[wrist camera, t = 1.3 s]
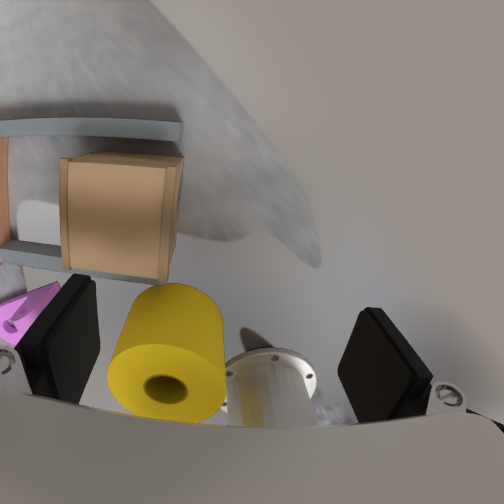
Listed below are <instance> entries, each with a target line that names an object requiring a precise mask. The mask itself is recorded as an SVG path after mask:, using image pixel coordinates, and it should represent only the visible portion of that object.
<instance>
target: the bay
mask: <svg viewBox="0 0 504 504" xmlns="http://www.w3.org/2000/svg"><path fill="white" fill-rule="evenodd" d="M182 128H183V123H181V122H170V121H158V120H143V119H125V118H93V117H61V118H30V119H13V120H0V262H4V263H10V264H15V265H21V266H28V267H33V268H39V269H46V270H52V271H59V272H65V273H71V274H74V273H77V274H83V275H89V276H92V277H100V278H106V279H113V280H121V281H128V282H136V283H145V284H152V285H160V286H165V284H164V283H159V279H154V278H145V277H137V276H129V275H122V274H114V273H107V272H99V271H92V270H85V269H78V268H72V269H71V270H70V271H67V270H63V264H62V252H61V246H57V245H50V244H42V243H34V242H27V241H20V240H12V239H11V232H10V221H9V206H8V174H7V168H8V137H9V136H101V137H122V138H138V139H152V140H164V141H175V142H178V141H180V140H181V135H182Z"/></svg>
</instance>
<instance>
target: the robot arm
mask: <svg viewBox="0 0 504 504" xmlns="http://www.w3.org/2000/svg"><path fill="white" fill-rule="evenodd" d="M96 300H97V299H96V283H95V281H93V280H91V277H90V276H89V275H83V274H77V273H74V274H73V275H72V276H71V277H70V278H69V279H68V281H67V282H66V283H65V284H64V285H63V286H62V288H61V289H60V290H59V291H58V293H57V294H56V295H55V296H54V297H53V299H52V300H51V301H50V302H49V304H48V305H47V306H46V307H45V308H44V309H43V310H42V312H41V313H40V314H39V316H38V317H37V318H36V319H35V321H34V322H33V323H32V325H31V326H30V327H29V329H28V330H27V331H26V333H25V334H24V335H23V337H22V338H21V339H20V341H19V342H18V343H17V345H16V346H15V348H14V349H13V348H11V347H8V346H2V345H0V504H504V425H503V424H501V423H498V422H496V421H493V420H491V419H488V418H486V417H484V416H482V415H480V414H477V413H475V412H473V411H471V410H468V409H466V404H467V401H466V397H465V395H464V393H463V392H462V391H461V390H460V389H459V388H458V387H456V386H455V385H453V384H451V383H447V382H437V383H435V384H434V385H433V386H432V385H431V384H430V381H431V380H432V378H433V375H432V373H431V372H430V371H429V369H428V368H427V367H426V365H425V364H424V363H423V361H422V360H421V359H420V357H419V356H418V355H417V353H416V352H415V351H414V349H413V348H412V347H411V345H410V344H409V343H408V342H407V340H406V339H405V338H404V336H403V335H402V334H401V333H400V331H399V330H398V329H397V327H396V326H395V325H394V324H393V322H392V321H391V320H390V319H389V317H388V316H387V315H386V314H385V312H384V311H383V310H382V309H381V308H371V307H367V308H365V309H364V310H363V311H361V312H360V313H359V315H358V318H357V321H356V323H355V326H354V329H353V331H352V334H351V336H350V339H349V341H348V344H347V346H346V349H345V352H344V354H343V356H342V359H341V361H340V363H339V366H338V376H339V379H340V381H341V383H342V385H343V388H344V389H345V392H346V394H347V397H348V399H349V401H350V403H351V406H352V408H353V410H354V413H355V415H356V417H357V420H358V422H359V423H355V424H343V425H327V426H319V425H318V422H317V419H316V416H315V413H314V410H313V406H312V403H311V400H310V398H311V397H312V395H313V394H314V392H315V389H316V385H317V377H316V374H315V371H314V368H313V366H312V364H311V363H310V362H309V361H308V359H306V358H305V357H304V356H302V355H301V354H299V353H297V352H294V351H292V350H287V349H283V348H261V349H256V350H251V351H248V352H245V353H242V354H240V355H238V356H236V357H234V358H232V359H231V360H229V361H228V362H227V363H225V374H226V398H225V401H224V403H223V405H222V406H221V409H222V410H223V411H224V412H226V413H227V414H228V426H227V425H212V424H200V423H189V422H179V421H171V420H163V419H155V418H148V417H142V416H136V415H130V414H124V413H118V412H112V411H108V410H102V409H98V408H93V407H89V406H84V405H79V401H80V399H81V396H82V394H83V391H84V389H85V386H86V384H87V381H88V379H89V376H90V374H91V372H92V369H93V367H94V364H95V362H96V360H97V357H98V355H99V352H100V336H99V326H98V314H97V301H96Z"/></svg>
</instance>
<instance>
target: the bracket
mask: <svg viewBox="0 0 504 504" xmlns="http://www.w3.org/2000/svg"><path fill="white" fill-rule="evenodd" d="M60 289H61V287H60V285H59V283H58V281H56V282H53V283H50V284H48V285H45V286H42V287H40V288H37V289H35V290H32V291H29V292H28V293H25V294H23V295H20V296H18V297H15V298H12V299H10V300H7V301H5V302H2V303H0V337H1V338H2V339H3V340H5V341H6V342H8V343H9V344H12V345H15V346H16V345H17V343H18V342H19V341H20V339H21V338H22V337H23V335H24V334H25V333H26V331H27V330H28V329H29V327H30V326H31V325H32V323H33V322H34V321H35V319H36V318H37V317H38V316H39V314H40V313H41V312H42V310H43V309H44V308H45V307H46V306H47V305H48V304H49V302H50V301H51V300H52V299H53V297H54V296H55V295H56V294H57V293H58V291H59V290H60ZM9 319H11V321H12V322H13V324H14V326H15V327H16V328H13V327H12V326H10V325H9V323H8V321H7V320H9Z"/></svg>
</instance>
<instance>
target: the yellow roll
mask: <svg viewBox="0 0 504 504" xmlns="http://www.w3.org/2000/svg"><path fill="white" fill-rule="evenodd" d="M107 381H108V385H109V388H110V390H111V392H112V394H113V396H114V397H115V398H116V400H117V401H118V402H119V403H120V404H121V405H122V406H123V407H125V408H126V409H127V410H129V411H130V412H132V413H133V414H135V415H137V416H142V417H148V418H155V419H163V420H171V421H179V422H189V423H196V422H200V421H202V420H205V419H207V418H209V417H210V416H212V415H213V414H215V413H216V412H217V411H218V410H219V409H220V408H221V406H222V405H223V403H224V401H225V398H226V374H225V356H224V333H223V319H222V316H221V313H220V310H219V308H218V307H217V305H216V304H215V303H214V301H213V300H212V299H210V297H209V296H207V295H206V294H205V293H203V292H201V291H199V290H198V289H196V288H194V287H191V286H188V285H184V284H179V283H167V284H165V286H160V285H155V286H152V287H150V288H148V289H146V290H145V291H143V292H142V293H141V294H140V295H139V296H138V297H137V298H136V300H135V301H134V302H133V304H132V307H131V309H130V312H129V314H128V317H127V319H126V322H125V324H124V327H123V330H122V332H121V335H120V338H119V340H118V343H117V346H116V348H115V351H114V354H113V357H112V360H111V363H110V365H109V368H108V372H107Z"/></svg>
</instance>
